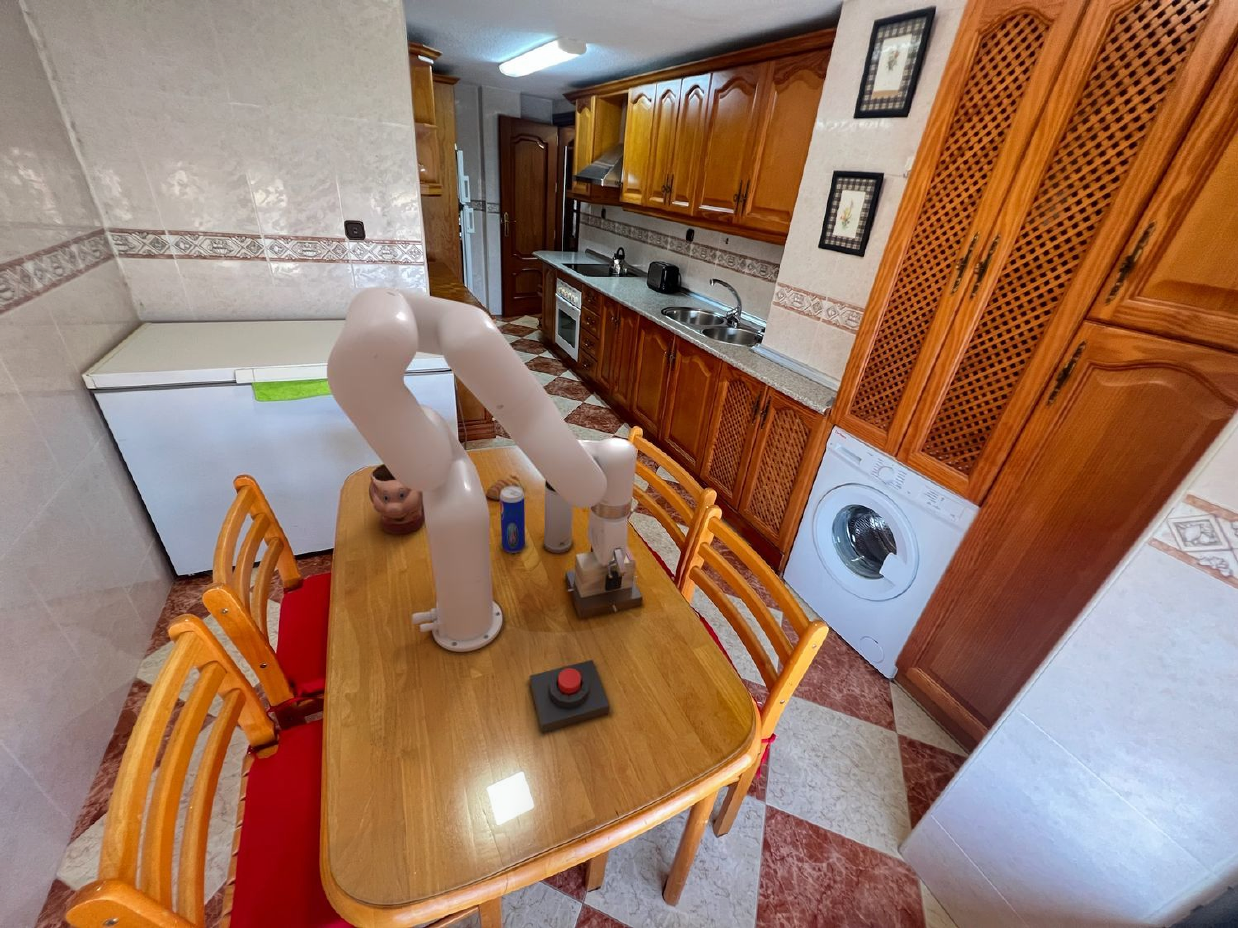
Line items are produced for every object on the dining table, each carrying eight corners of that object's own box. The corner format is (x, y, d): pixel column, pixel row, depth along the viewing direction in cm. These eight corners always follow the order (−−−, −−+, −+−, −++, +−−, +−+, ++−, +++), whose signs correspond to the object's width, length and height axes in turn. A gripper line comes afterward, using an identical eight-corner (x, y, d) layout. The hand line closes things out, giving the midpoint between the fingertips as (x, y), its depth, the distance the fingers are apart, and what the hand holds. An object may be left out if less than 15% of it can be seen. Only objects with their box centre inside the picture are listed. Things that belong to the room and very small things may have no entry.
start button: (561, 697, 78) (561, 690, 77) (555, 678, 81) (555, 671, 80) (583, 691, 79) (583, 684, 78) (576, 672, 82) (577, 665, 81)
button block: (541, 733, 76) (541, 718, 74) (529, 683, 83) (529, 668, 81) (608, 713, 80) (610, 698, 78) (592, 667, 87) (593, 652, 85)
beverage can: (497, 549, 111) (494, 494, 104) (510, 536, 116) (508, 482, 108) (517, 556, 110) (515, 501, 102) (529, 543, 114) (528, 489, 106)
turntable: (577, 628, 94) (578, 619, 93) (557, 574, 106) (558, 565, 105) (650, 612, 99) (651, 602, 98) (623, 562, 111) (624, 553, 110)
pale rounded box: (581, 597, 98) (582, 570, 94) (574, 580, 102) (575, 553, 98) (632, 587, 101) (636, 560, 98) (623, 570, 105) (627, 544, 102)
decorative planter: (374, 499, 123) (365, 450, 116) (426, 491, 128) (420, 444, 121) (375, 549, 108) (364, 497, 101) (435, 539, 113) (428, 488, 105)
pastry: (497, 505, 125) (496, 493, 124) (481, 494, 129) (480, 482, 127) (526, 491, 132) (525, 479, 130) (509, 481, 135) (509, 469, 134)
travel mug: (568, 556, 111) (571, 481, 101) (540, 550, 112) (541, 476, 102) (576, 539, 117) (580, 466, 107) (549, 533, 118) (550, 461, 107)
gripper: (578, 480, 97) (575, 548, 106) (607, 535, 83) (601, 608, 92) (614, 476, 99) (608, 542, 108) (648, 528, 86) (638, 599, 94)
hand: (605, 572), depth 100 cm, fingers open, 8 cm apart
